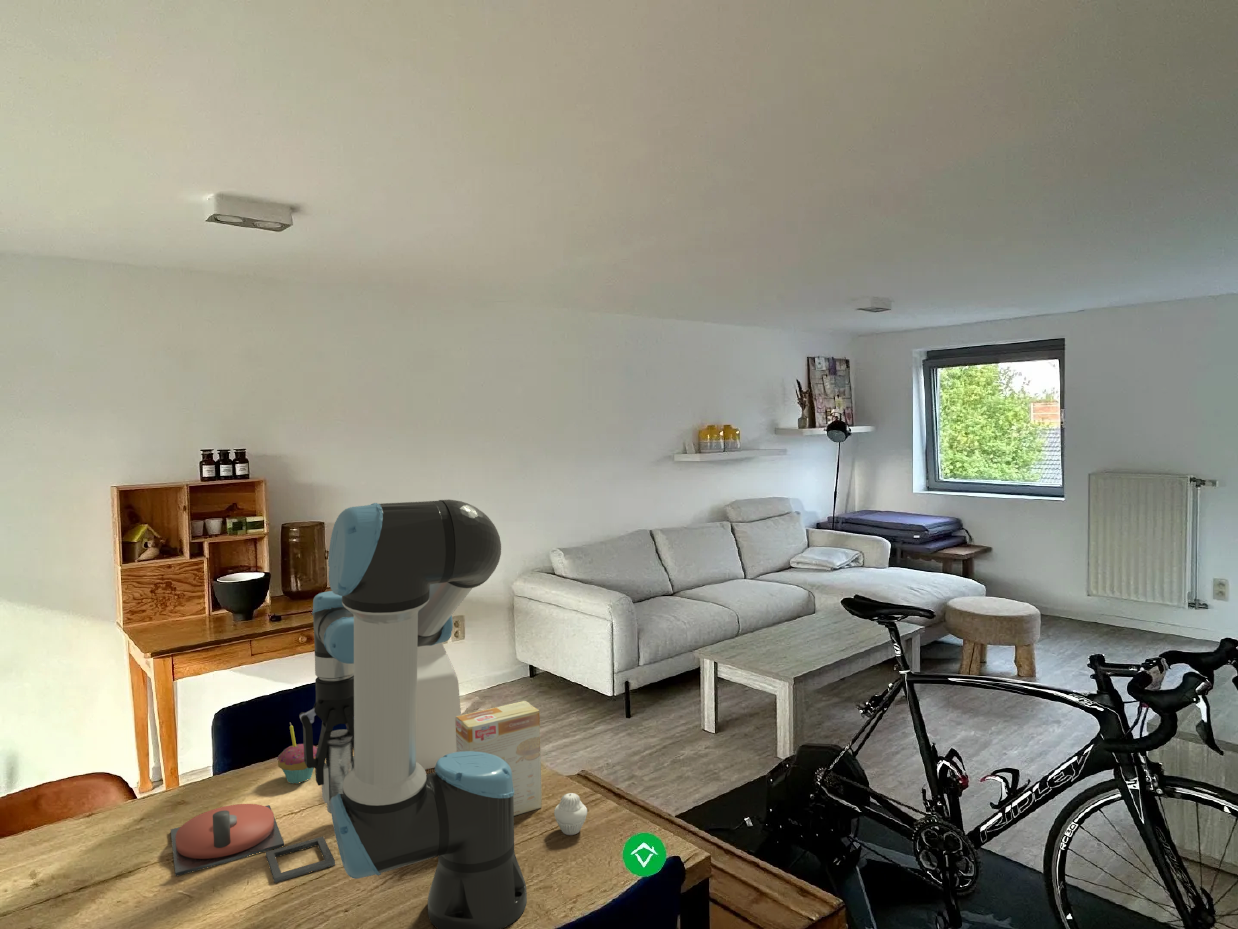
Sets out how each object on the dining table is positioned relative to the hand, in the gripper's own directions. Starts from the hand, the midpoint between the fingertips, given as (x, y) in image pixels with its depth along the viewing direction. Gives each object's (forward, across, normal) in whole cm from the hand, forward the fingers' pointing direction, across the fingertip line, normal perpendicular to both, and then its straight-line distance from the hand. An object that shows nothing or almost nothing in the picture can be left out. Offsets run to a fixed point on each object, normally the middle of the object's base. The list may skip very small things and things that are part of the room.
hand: (340, 796), depth 149 cm
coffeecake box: (+6, -27, +12) cm, 30 cm away
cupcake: (+6, +3, -25) cm, 26 cm away
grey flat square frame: (+5, +9, +9) cm, 14 cm away
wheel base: (+5, +19, -6) cm, 21 cm away
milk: (+6, -24, -20) cm, 32 cm away
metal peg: (+2, 0, 0) cm, 2 cm away
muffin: (+5, -35, +26) cm, 44 cm away
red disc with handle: (+5, +19, -6) cm, 21 cm away
